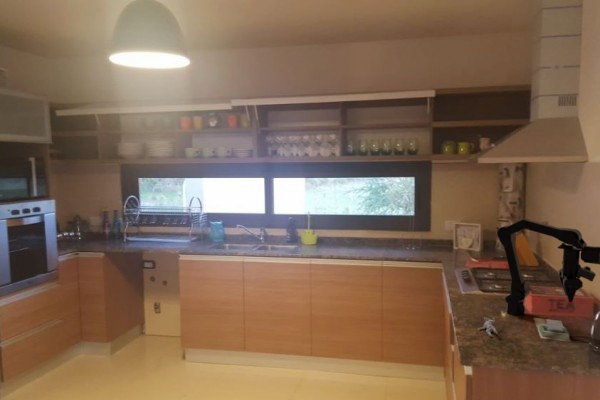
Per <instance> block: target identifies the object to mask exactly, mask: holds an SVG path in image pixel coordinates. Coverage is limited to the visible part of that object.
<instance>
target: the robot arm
mask: <svg viewBox="0 0 600 400" xmlns="http://www.w3.org/2000/svg"><path fill="white" fill-rule="evenodd" d="M522 230H528V231H530V232H535V233H538V234H542V235H545V236H548V237H549V236H550V237H552V238H555V239H556V240H558V241H559V242H562V243H561V244H560V245H559V246H557V249H559V250H562V251H563V252H562V253H563V254H562V261H561V265H562V268H560V269H558V279H559V281H560V284H561V286H562V289H563V292H564V295H565V296H566V297H567V300H568V302H569V303H573V301H574V297H575V296H576V293H577V291H578V290H581V289H582V288H583V284H584V282H583V280H581V278H583V279H586V280H587V281H589V282H594V279H595V277H596V275H597V274H596V273H595V272H594V271H593V270H591V266H588V265H585V266H581V264H580V260H581V261H583V263H586V264H594V265H600V246H593V245H592V246H591V245H588V244H587V243H586V242H585V240H584V239H583V236H582V232H581V231H580V230H578V229H576V228H568V227H557V226H553V225H549V224H546V223H542V222H538V221H535V220H531V219H528V218H522V219H521V218H520V220H518V221H515V223H512V224H511V225H509V224H508V225H504V226H501V227H500V228H498V230H497V232H496V235H497V238H498V240H499V242H500V244H501V246H502V247H504V248H503V249H504V252H505V256H506V261H507V266H508V269H509V274H510V279H511V283H510V294H509V295H507V296H505V298H504V299H505V302H506V314H508V315H511V316H525V312H526V311H525V310H526V309H525V308H526V307H525V304H524V301H525V299H526V298H527V297H528V296H530V294H531V293H530V292H531V290H532V288H531V287H530V281H529V280H527V281H526V280H525V279H524V278H523V273H522V270H521V269H522V268H521V264H520V261H519V257H518V252H517V248H516V241H517V233H519V232H521V231H522Z"/></svg>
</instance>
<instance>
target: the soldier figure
mask: <svg viewBox="0 0 600 400" xmlns="http://www.w3.org/2000/svg"><path fill="white" fill-rule="evenodd" d="M483 320H484V323H483V326H482V327H478V328H477V330H478V331H480V330H485V329H486V331H485V332H486V333H487V336H488V337H491V338H493V337H494V336H493V334H492V333H494V334H495V335H496V334H497V335H498V334H499V333H498V331H497V329H496V327H495V326H493V323H495V322H496V318H495V317H492V319H490V318H489V317H485V316H483Z"/></svg>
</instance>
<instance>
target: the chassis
mask: <svg viewBox="0 0 600 400" xmlns="http://www.w3.org/2000/svg"><path fill="white" fill-rule="evenodd" d="M546 319H547V318H539V317H533V321H534V323H535V326H536V330H537V331H538V335H539V337H540V339H545V340H546V339H547V340H549V341H548V342H551V341H550V340H552V341H553V340H556V341H562V342H565V343H564V344H567V343H566V342H568V343H569V342H570V343H572V340H571V339H570V333H569V332H568V330H567V328H566V326H563V329H562V333H558V332H550V331H546ZM541 341H543V340H541ZM556 343H559V342H556Z"/></svg>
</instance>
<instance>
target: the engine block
mask: <svg viewBox="0 0 600 400" xmlns="http://www.w3.org/2000/svg"><path fill="white" fill-rule="evenodd" d="M545 319H546V331H550V332H558V333H562V329H563V327H564V325H563V322H562V320H555V319H547V318H545Z"/></svg>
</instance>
